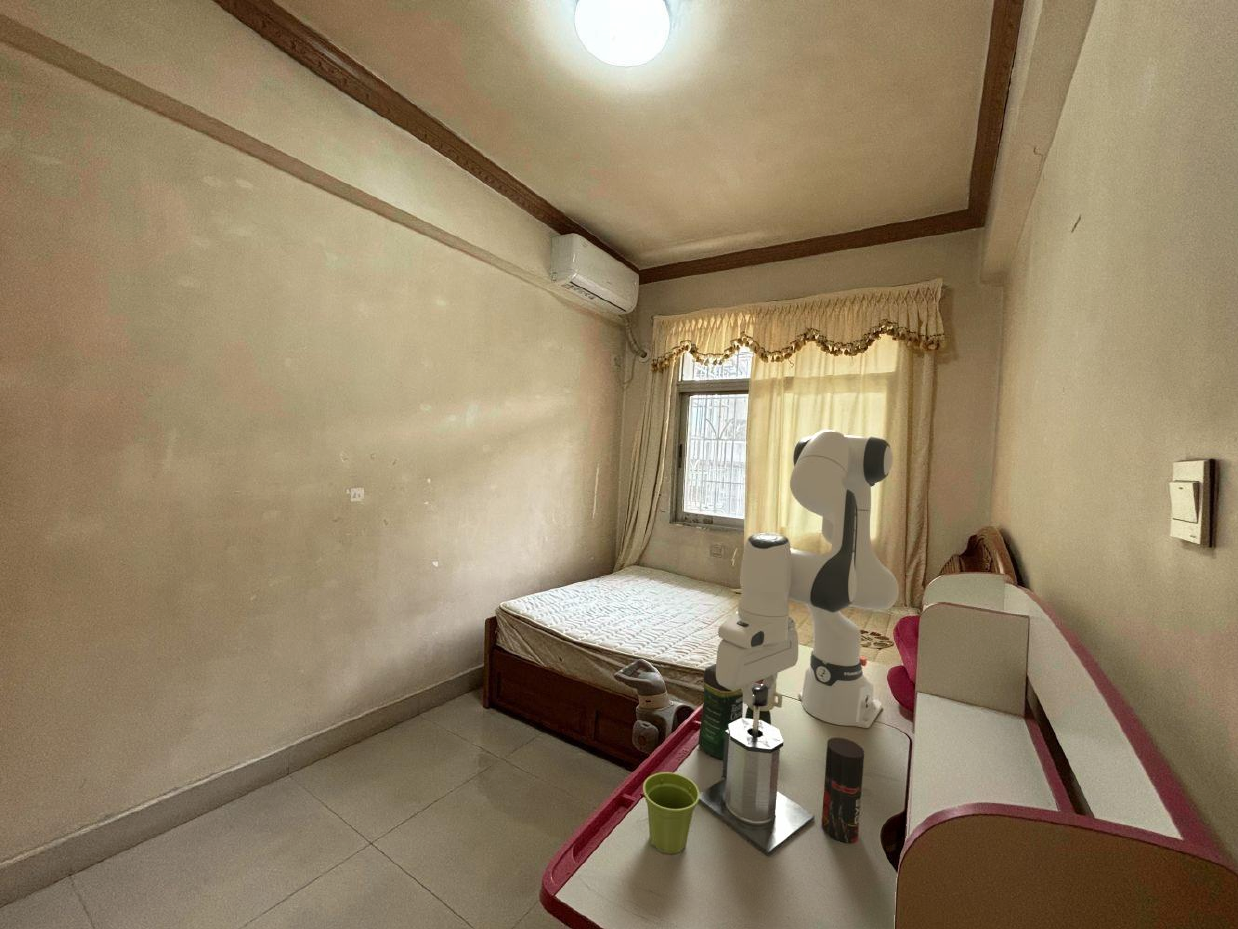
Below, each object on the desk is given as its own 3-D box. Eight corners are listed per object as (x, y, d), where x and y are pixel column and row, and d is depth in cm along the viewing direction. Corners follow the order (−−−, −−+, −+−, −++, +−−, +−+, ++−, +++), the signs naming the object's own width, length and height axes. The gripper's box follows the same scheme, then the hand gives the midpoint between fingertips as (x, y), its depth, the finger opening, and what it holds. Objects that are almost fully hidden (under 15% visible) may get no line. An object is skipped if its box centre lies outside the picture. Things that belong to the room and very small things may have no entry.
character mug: (728, 728, 119) (732, 674, 119) (743, 717, 124) (746, 666, 124) (772, 749, 112) (776, 691, 111) (785, 736, 117) (789, 681, 116)
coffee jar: (721, 765, 105) (727, 678, 104) (692, 747, 111) (697, 664, 110) (748, 748, 112) (753, 666, 111) (719, 732, 117) (724, 653, 117)
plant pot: (639, 817, 89) (642, 769, 89) (693, 821, 89) (696, 773, 88) (640, 860, 80) (643, 807, 79) (699, 865, 79) (702, 812, 79)
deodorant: (855, 849, 84) (862, 762, 84) (818, 833, 88) (824, 749, 87) (860, 827, 89) (866, 745, 89) (824, 813, 93) (830, 733, 92)
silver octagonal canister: (741, 772, 103) (746, 701, 103) (813, 820, 91) (819, 740, 90) (695, 799, 94) (699, 722, 94) (768, 856, 82) (774, 768, 81)
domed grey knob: (751, 753, 94) (755, 681, 94) (767, 763, 91) (772, 689, 91) (739, 760, 92) (743, 687, 91) (755, 771, 89) (760, 695, 88)
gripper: (780, 609, 99) (775, 678, 100) (711, 629, 87) (706, 707, 87) (809, 619, 95) (804, 691, 95) (741, 641, 82) (736, 724, 82)
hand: (757, 699), depth 91 cm, fingers closed on domed grey knob, 4 cm apart
